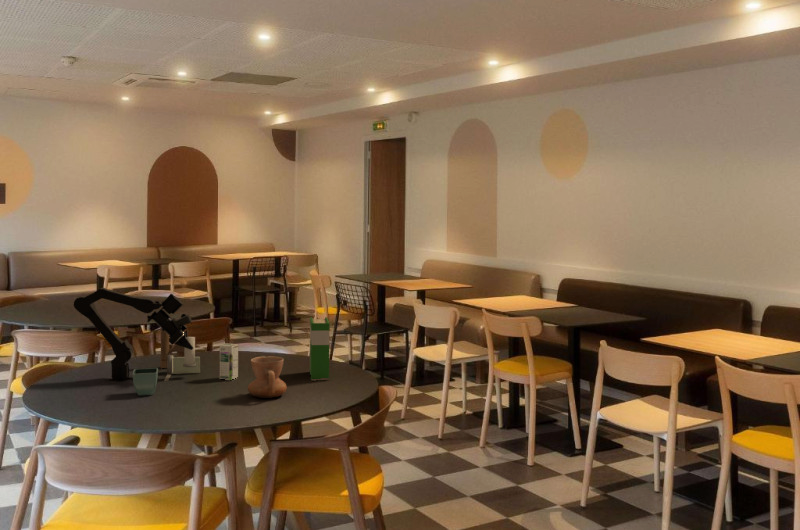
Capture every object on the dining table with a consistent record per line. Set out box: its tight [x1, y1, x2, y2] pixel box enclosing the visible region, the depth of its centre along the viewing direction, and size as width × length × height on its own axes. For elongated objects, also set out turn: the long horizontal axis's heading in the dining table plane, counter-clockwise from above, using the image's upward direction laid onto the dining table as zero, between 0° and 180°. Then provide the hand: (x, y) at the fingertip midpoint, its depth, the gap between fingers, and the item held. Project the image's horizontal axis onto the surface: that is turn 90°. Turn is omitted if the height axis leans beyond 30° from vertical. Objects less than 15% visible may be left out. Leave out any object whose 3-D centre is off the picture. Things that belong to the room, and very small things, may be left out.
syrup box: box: [219, 343, 239, 381], centre depth 310 cm, size 6×6×14 cm
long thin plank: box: [163, 354, 174, 382], centre depth 314 cm, size 18×2×8 cm, turn 11°
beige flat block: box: [172, 356, 201, 375], centre depth 319 cm, size 11×2×7 cm, turn 101°
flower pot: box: [131, 367, 159, 396], centre depth 283 cm, size 9×9×9 cm
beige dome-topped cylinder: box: [183, 336, 196, 367], centre depth 311 cm, size 5×5×12 cm
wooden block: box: [159, 327, 184, 370], centre depth 330 cm, size 4×11×18 cm, turn 111°
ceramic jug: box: [247, 355, 287, 399], centre depth 282 cm, size 18×14×14 cm
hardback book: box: [309, 316, 330, 380], centre depth 317 cm, size 18×7×24 cm, turn 9°
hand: (193, 348), depth 311 cm, fingers closed on beige dome-topped cylinder, 4 cm apart
